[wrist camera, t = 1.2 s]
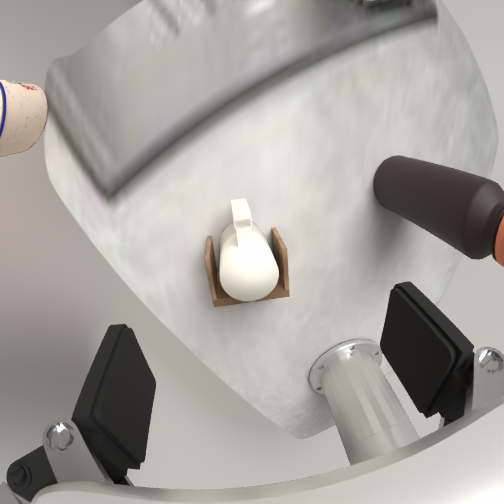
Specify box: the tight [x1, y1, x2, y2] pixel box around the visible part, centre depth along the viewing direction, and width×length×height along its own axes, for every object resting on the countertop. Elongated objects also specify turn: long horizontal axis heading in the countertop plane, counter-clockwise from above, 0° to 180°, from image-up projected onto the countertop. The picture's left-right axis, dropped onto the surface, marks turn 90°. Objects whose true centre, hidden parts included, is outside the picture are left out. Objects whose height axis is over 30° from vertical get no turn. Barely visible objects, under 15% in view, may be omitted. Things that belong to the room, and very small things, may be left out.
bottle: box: [374, 156, 504, 267], centre depth 21 cm, size 7×7×20 cm
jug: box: [220, 199, 279, 301], centre depth 27 cm, size 8×5×8 cm, turn 6°
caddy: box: [205, 228, 289, 307], centre depth 29 cm, size 5×7×6 cm
